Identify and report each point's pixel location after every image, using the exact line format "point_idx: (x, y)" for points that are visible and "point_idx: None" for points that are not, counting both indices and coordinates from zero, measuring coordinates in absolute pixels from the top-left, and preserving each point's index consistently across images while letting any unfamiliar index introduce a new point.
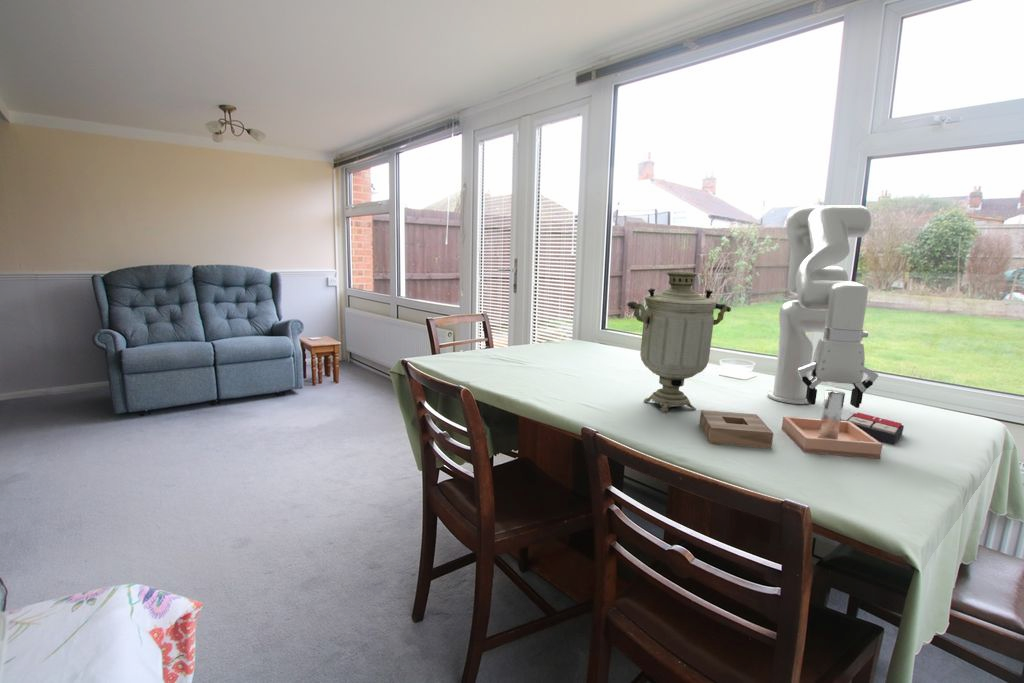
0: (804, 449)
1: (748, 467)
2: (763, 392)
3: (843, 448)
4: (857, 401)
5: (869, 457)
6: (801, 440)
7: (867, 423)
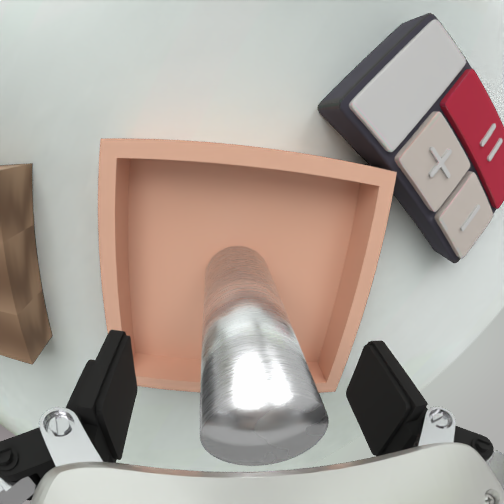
0: None
1: (24, 409)
2: None
3: None
4: (360, 416)
5: None
6: None
7: (443, 189)
